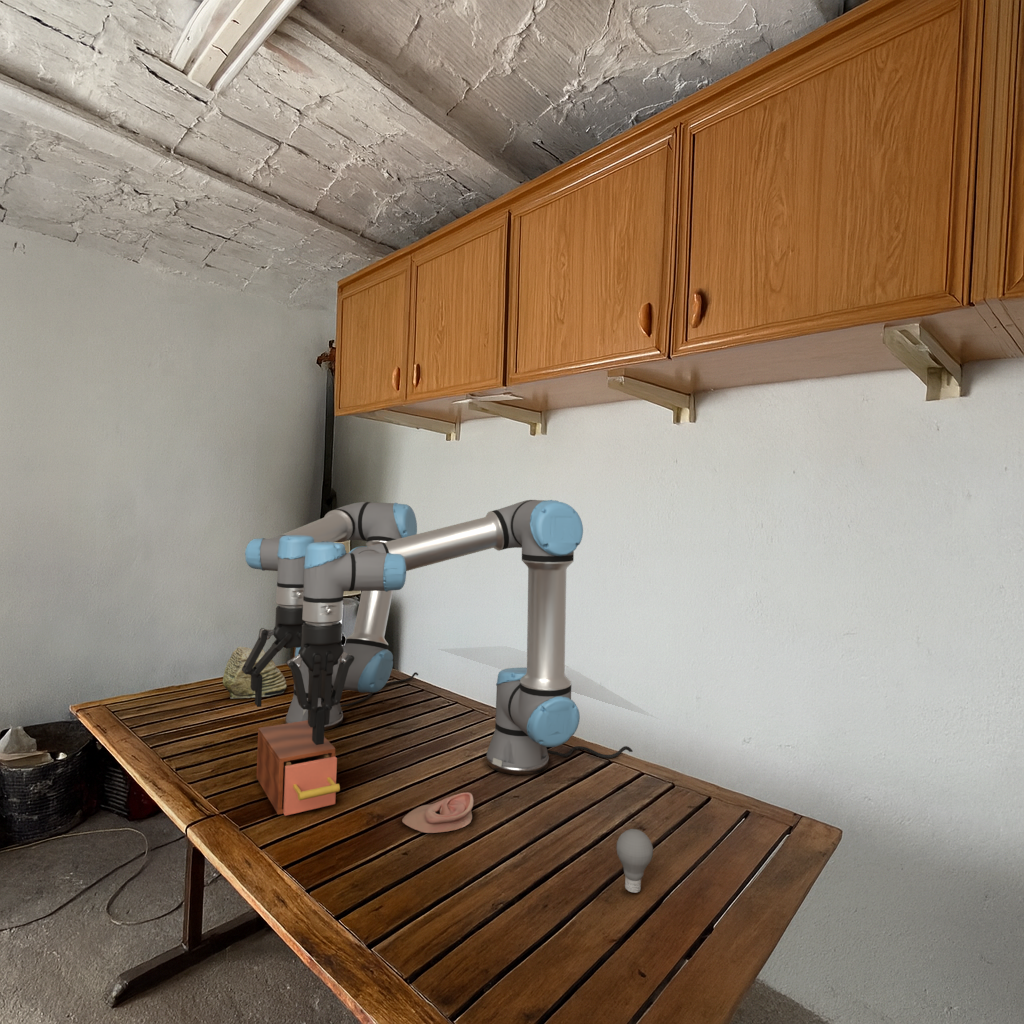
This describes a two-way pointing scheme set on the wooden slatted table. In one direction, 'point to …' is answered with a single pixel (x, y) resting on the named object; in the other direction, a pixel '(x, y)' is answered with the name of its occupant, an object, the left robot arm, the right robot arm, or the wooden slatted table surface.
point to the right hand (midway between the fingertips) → (317, 741)
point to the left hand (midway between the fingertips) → (290, 700)
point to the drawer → (309, 783)
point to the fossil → (241, 682)
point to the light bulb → (634, 857)
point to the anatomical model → (442, 814)
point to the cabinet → (284, 755)
